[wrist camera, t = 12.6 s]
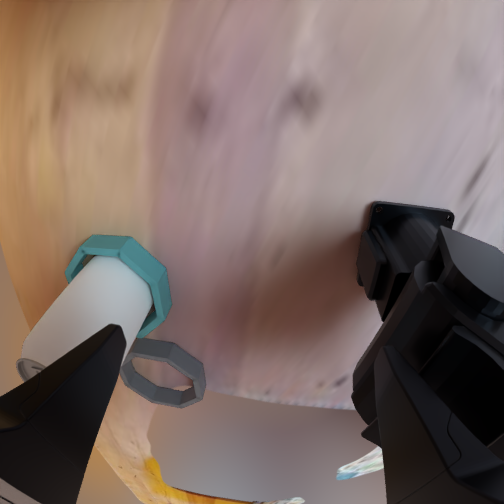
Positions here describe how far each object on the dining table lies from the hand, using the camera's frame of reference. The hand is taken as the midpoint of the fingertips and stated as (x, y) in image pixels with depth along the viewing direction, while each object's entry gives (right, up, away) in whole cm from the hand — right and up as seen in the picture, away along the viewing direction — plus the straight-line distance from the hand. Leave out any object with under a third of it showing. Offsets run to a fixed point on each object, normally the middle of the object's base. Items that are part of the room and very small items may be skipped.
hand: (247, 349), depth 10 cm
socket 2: (-9, -9, +20) cm, 24 cm away
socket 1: (-11, +1, +15) cm, 18 cm away
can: (-11, +1, +15) cm, 18 cm away
